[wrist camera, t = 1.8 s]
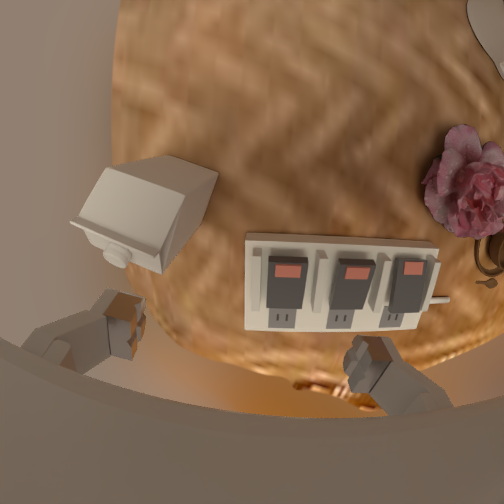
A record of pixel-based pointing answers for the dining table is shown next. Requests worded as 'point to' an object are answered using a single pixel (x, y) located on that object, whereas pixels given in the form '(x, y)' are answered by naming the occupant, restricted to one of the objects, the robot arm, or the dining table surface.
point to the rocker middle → (351, 283)
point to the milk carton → (146, 210)
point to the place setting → (500, 253)
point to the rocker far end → (286, 282)
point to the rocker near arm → (407, 285)
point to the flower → (467, 185)
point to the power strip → (321, 281)
